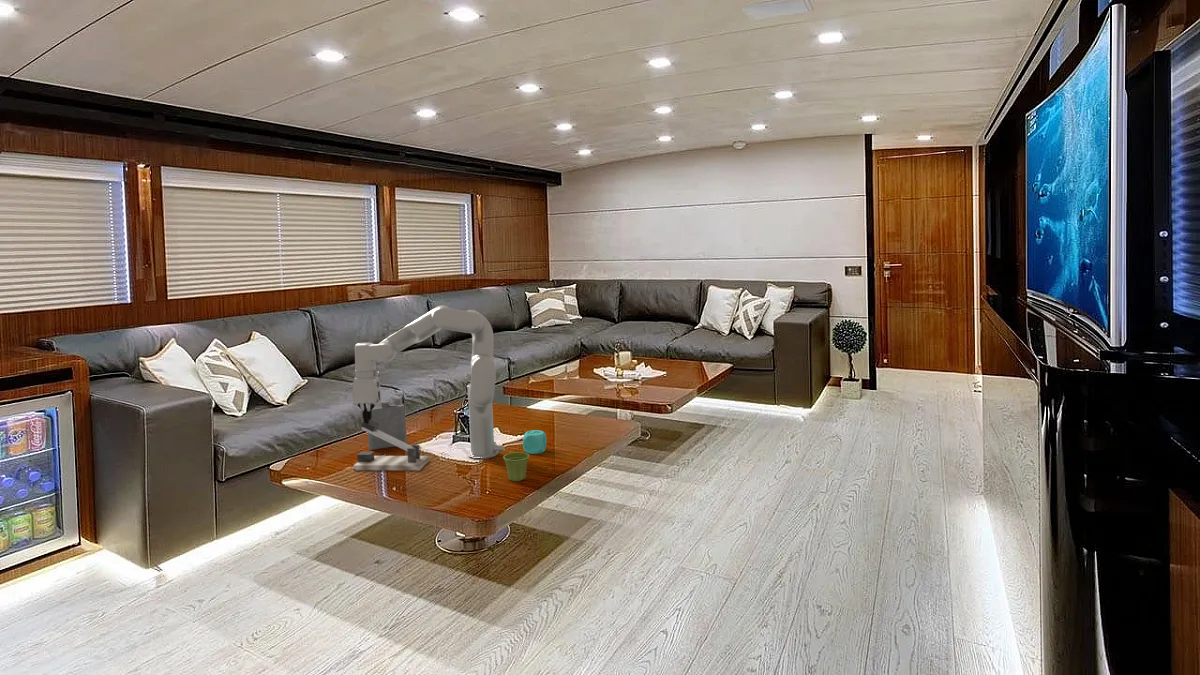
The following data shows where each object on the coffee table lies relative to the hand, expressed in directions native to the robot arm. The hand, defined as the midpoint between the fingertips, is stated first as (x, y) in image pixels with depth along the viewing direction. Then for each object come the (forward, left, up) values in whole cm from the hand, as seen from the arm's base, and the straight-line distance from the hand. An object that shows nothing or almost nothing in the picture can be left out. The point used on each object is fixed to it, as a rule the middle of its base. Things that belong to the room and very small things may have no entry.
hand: (367, 420), depth 261 cm
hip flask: (+3, -26, -19) cm, 32 cm away
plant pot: (-62, +15, -19) cm, 66 cm away
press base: (-9, 0, -18) cm, 20 cm away
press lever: (-8, 0, -8) cm, 11 cm away
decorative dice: (-63, -19, -19) cm, 68 cm away
